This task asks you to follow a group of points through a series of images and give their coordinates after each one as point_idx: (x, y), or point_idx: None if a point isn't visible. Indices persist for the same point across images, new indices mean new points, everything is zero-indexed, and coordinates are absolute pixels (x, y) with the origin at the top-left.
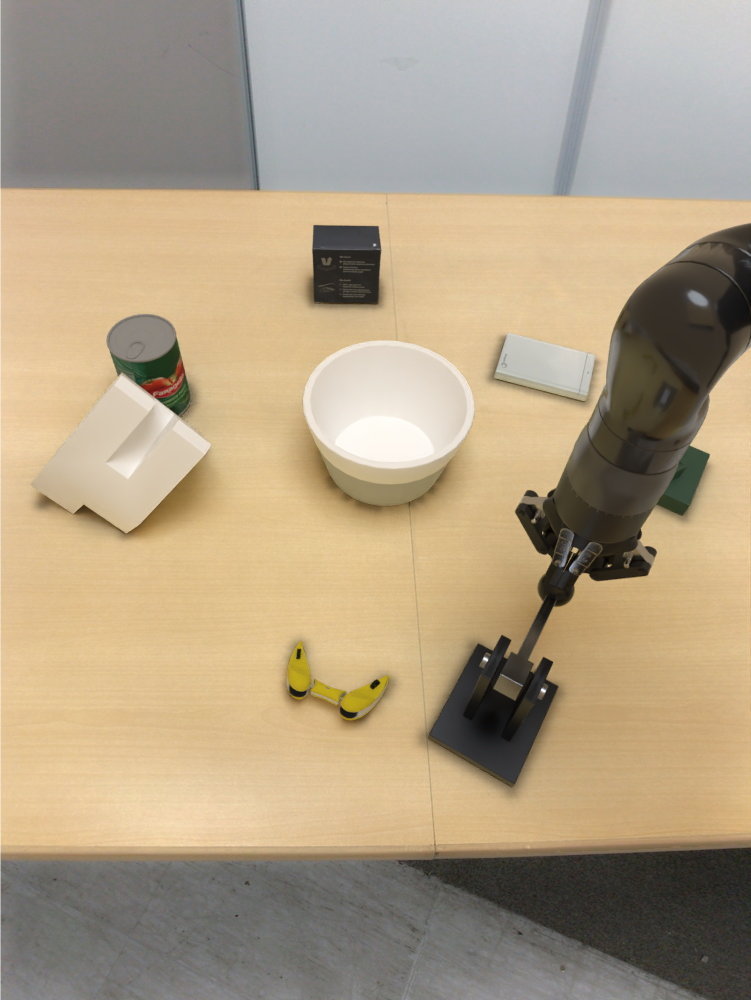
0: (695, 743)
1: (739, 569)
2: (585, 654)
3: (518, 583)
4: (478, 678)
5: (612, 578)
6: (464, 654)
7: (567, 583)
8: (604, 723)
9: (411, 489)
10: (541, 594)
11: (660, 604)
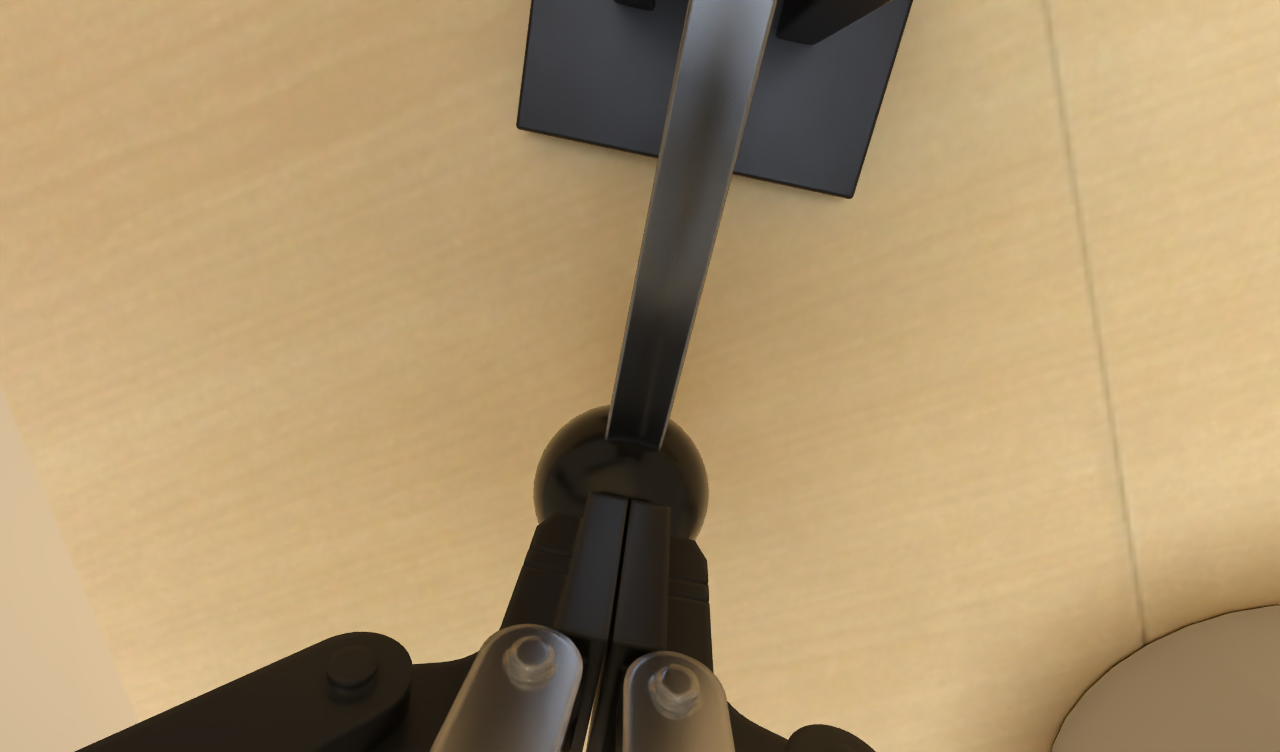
0: (33, 103)
1: (133, 691)
2: (463, 300)
3: (733, 476)
4: (828, 42)
5: (168, 724)
6: (882, 151)
7: (572, 536)
8: (330, 60)
9: (1242, 719)
10: (683, 441)
11: (295, 536)
